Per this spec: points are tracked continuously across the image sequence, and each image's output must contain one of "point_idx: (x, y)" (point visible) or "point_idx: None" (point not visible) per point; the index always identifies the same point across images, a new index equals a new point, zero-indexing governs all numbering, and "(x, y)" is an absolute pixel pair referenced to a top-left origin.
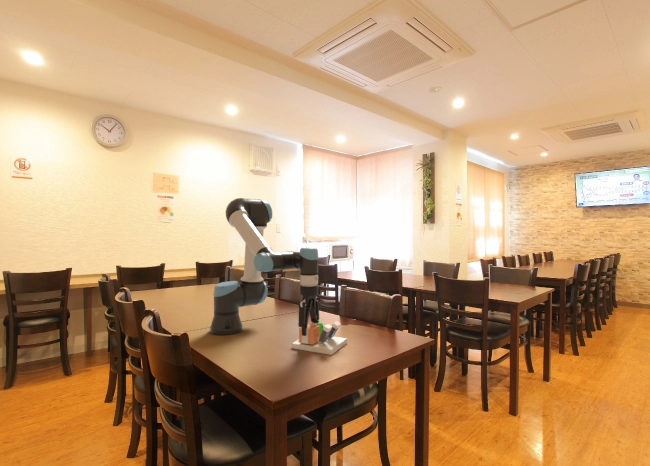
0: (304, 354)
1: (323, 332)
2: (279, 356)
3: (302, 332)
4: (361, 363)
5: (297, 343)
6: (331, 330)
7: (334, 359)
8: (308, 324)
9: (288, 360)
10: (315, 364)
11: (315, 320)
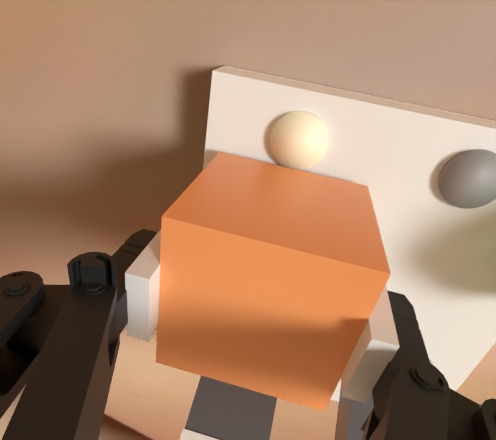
0: (141, 203)
1: (192, 407)
2: (24, 39)
3: (122, 254)
4: (151, 421)
5: (225, 129)
6: (342, 434)
7: (145, 346)
8: (374, 299)
9: (9, 136)
10: (50, 281)
11: (365, 431)
